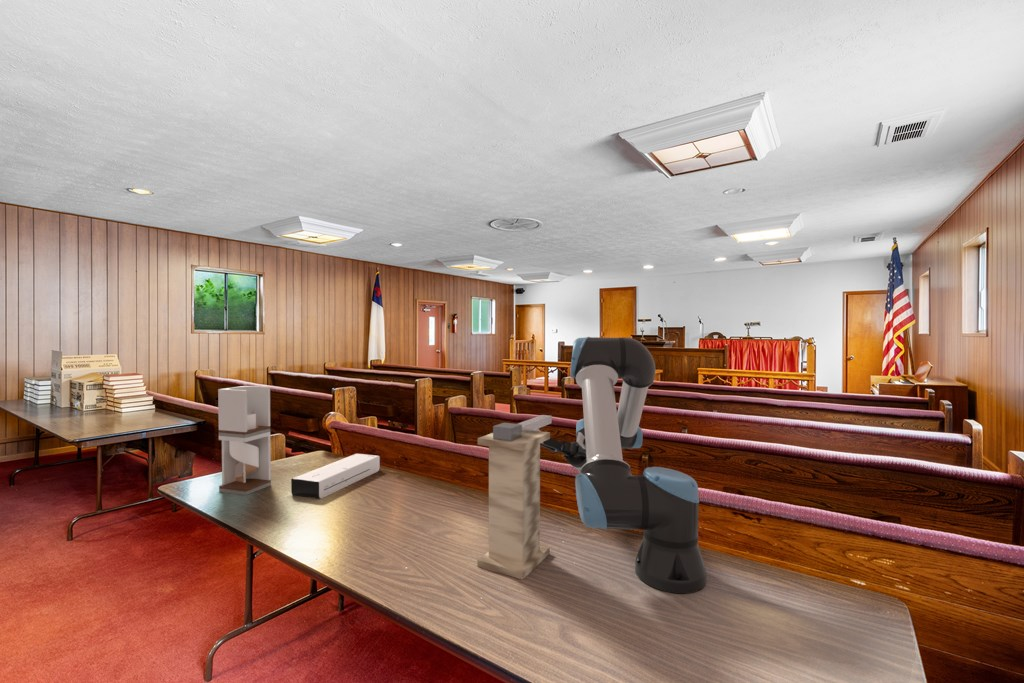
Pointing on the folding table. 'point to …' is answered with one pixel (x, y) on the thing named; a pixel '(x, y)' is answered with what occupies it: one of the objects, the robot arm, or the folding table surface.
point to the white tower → (245, 438)
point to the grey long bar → (519, 428)
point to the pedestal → (514, 505)
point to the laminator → (335, 476)
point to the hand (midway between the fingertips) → (555, 434)
